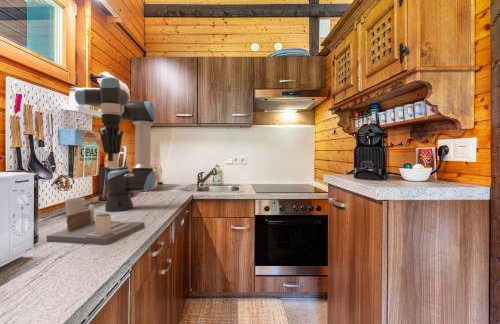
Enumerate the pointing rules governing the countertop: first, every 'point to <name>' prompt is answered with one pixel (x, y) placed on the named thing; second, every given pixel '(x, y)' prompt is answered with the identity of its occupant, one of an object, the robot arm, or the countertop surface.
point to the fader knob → (102, 223)
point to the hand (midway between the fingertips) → (112, 168)
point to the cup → (74, 205)
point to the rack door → (78, 219)
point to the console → (89, 232)
